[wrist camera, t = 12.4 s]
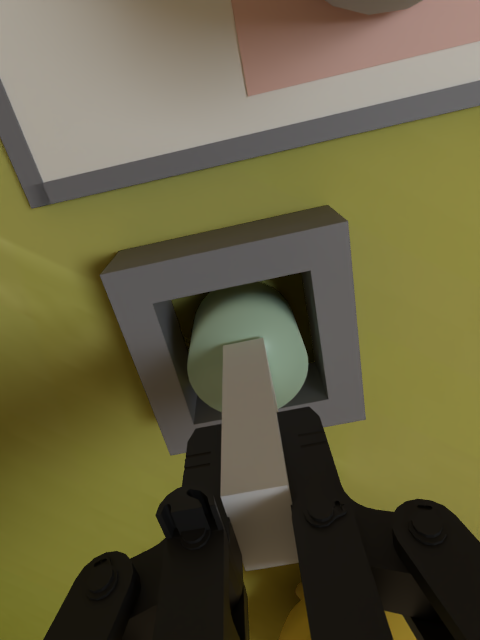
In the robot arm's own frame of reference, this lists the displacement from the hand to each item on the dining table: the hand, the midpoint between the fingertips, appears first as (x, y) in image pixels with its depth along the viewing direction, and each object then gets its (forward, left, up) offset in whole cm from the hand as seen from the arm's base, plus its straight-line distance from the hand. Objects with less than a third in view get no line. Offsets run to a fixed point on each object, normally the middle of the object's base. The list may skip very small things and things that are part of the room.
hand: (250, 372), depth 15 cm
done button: (0, 0, -4) cm, 4 cm away
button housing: (0, 0, -4) cm, 4 cm away
